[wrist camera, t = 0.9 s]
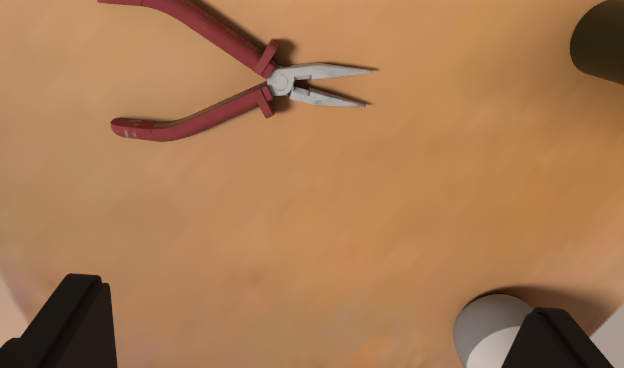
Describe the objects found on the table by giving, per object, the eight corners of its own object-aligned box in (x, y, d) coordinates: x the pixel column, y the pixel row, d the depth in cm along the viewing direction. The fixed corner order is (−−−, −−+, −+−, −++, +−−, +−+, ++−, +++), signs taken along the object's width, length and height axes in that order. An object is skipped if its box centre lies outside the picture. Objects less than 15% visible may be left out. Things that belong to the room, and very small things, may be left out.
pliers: (355, 150, 37) (360, 161, 34) (118, 131, 35) (106, 142, 32) (378, 10, 32) (385, 12, 30) (104, -21, 30) (88, -21, 28)
